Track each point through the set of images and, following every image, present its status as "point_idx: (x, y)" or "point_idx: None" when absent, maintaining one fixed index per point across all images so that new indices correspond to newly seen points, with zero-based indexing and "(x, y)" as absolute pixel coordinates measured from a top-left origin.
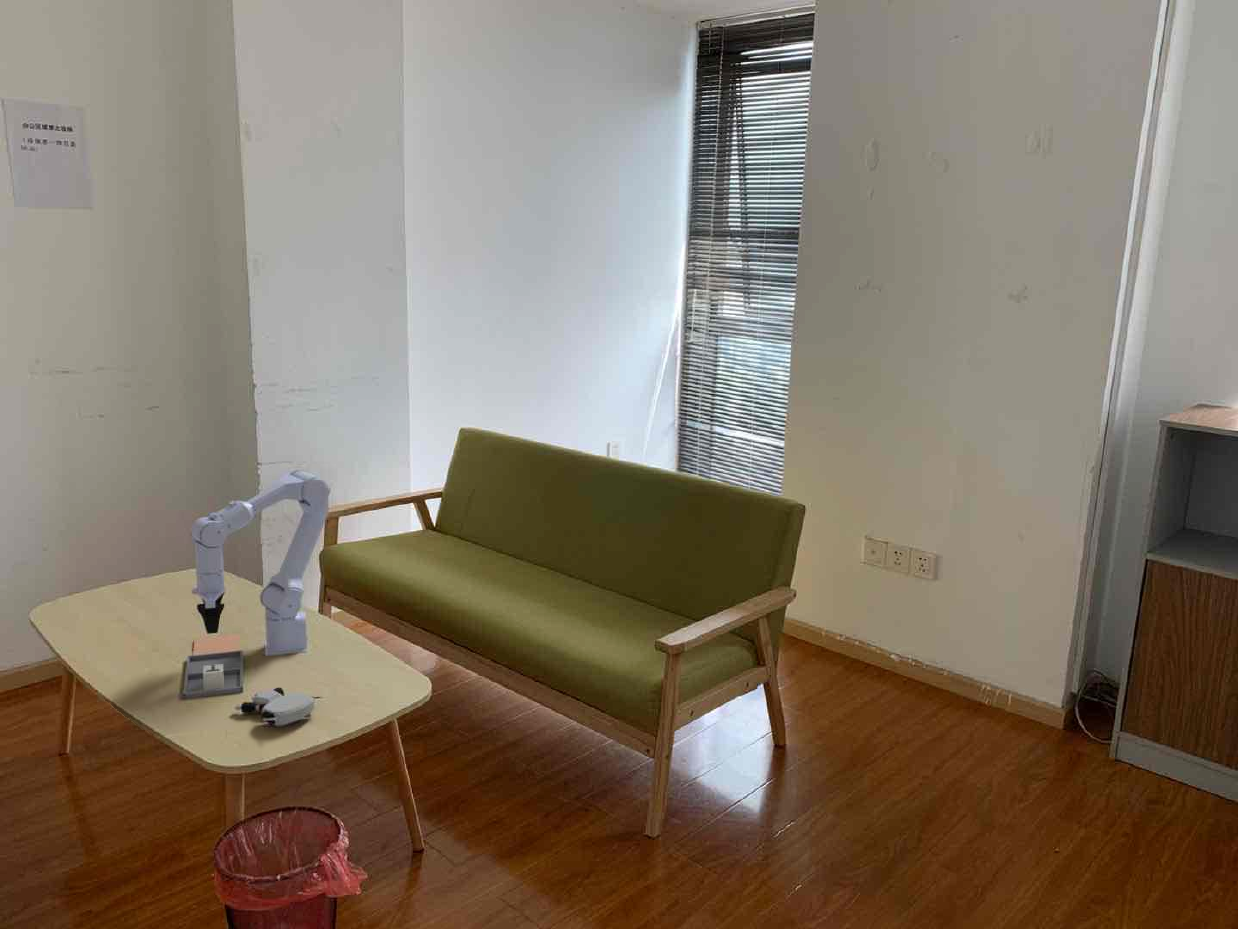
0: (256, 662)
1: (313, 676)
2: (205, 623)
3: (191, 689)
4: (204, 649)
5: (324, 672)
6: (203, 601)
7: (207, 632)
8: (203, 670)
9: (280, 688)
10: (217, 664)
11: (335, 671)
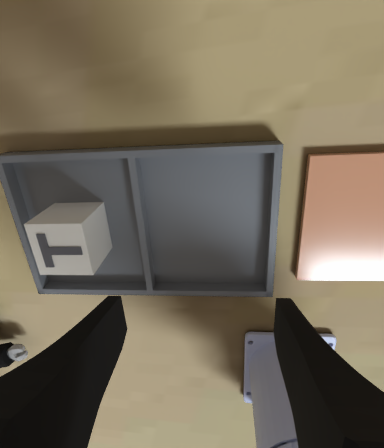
0: (219, 311)
1: (122, 394)
2: (66, 336)
3: (61, 170)
4: (349, 189)
5: (138, 410)
6: (316, 385)
7: (104, 300)
8: (46, 224)
9: (2, 366)
10: (219, 229)
11: (139, 423)
